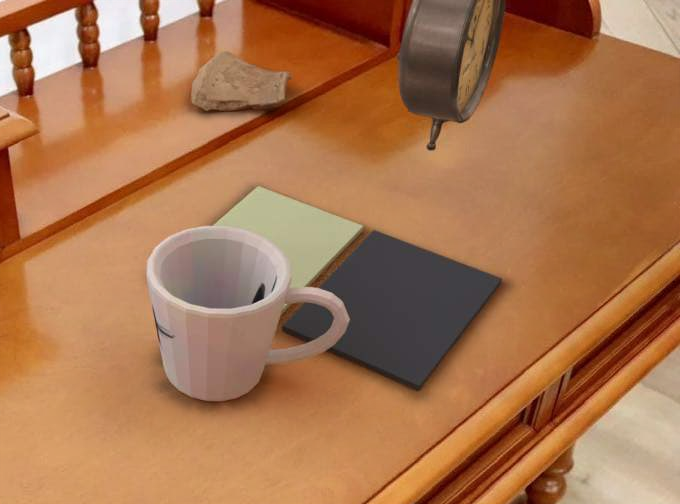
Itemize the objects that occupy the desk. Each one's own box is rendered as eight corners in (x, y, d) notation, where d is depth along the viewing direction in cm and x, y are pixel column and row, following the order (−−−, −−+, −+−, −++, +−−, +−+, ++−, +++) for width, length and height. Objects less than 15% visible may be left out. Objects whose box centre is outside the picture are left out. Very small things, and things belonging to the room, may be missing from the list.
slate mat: (501, 284, 92) (502, 278, 92) (418, 391, 83) (419, 386, 82) (372, 234, 98) (373, 229, 97) (281, 331, 88) (282, 325, 88)
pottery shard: (189, 123, 114) (282, 116, 111) (181, 84, 112) (276, 75, 108) (215, 80, 122) (303, 72, 119) (208, 43, 120) (297, 33, 116)
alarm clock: (446, 164, 78) (488, -64, 67) (374, 146, 80) (403, -78, 69) (492, 95, 84) (537, -122, 73) (425, 80, 87) (458, -134, 76)
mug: (158, 317, 89) (159, 216, 83) (342, 340, 87) (359, 238, 80) (134, 406, 82) (133, 303, 75) (335, 433, 80) (352, 330, 73)
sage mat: (362, 231, 98) (363, 225, 98) (270, 326, 89) (271, 320, 88) (257, 190, 103) (258, 185, 102) (159, 277, 93) (159, 271, 93)
